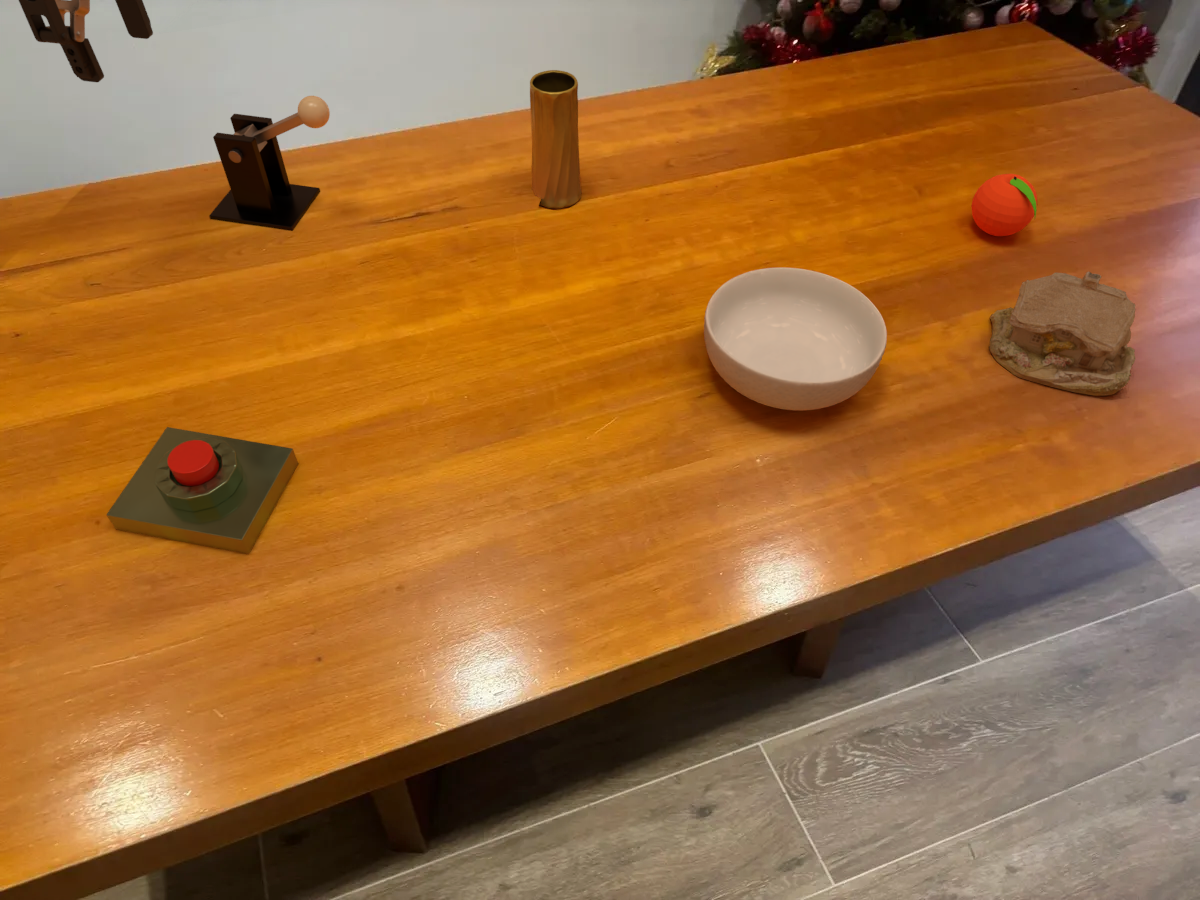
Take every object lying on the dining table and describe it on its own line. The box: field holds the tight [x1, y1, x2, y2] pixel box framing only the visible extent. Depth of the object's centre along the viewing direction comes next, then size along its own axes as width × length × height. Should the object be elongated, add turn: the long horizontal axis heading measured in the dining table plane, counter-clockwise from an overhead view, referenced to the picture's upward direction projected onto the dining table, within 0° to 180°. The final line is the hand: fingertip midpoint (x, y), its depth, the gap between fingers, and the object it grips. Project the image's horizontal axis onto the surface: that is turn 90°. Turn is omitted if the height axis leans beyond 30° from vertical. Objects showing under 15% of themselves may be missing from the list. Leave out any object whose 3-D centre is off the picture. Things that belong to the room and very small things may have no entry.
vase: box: [529, 69, 583, 209], centre depth 103 cm, size 6×6×14 cm
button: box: [167, 440, 219, 486], centre depth 75 cm, size 4×4×2 cm
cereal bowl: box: [703, 266, 888, 412], centre depth 87 cm, size 17×17×7 cm
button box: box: [106, 426, 299, 555], centre depth 77 cm, size 12×10×4 cm
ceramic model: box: [989, 271, 1137, 397], centre depth 88 cm, size 14×11×10 cm
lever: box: [233, 95, 331, 152], centre depth 96 cm, size 13×3×3 cm, turn 79°
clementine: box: [971, 173, 1038, 237], centre depth 103 cm, size 8×7×7 cm
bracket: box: [208, 113, 321, 232], centre depth 101 cm, size 10×8×11 cm
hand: (118, 57), depth 84 cm, fingers open, 8 cm apart
